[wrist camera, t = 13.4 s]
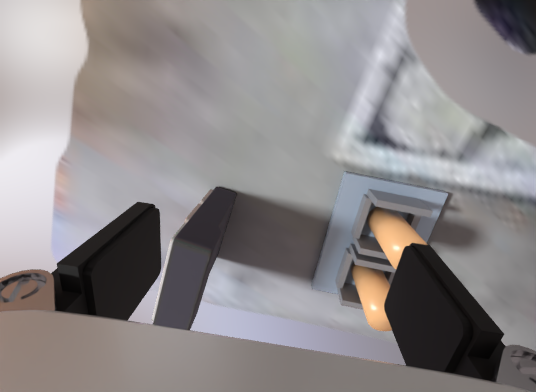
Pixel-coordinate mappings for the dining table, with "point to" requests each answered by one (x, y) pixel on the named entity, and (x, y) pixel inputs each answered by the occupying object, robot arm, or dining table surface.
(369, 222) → the tan capsule rod
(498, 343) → the robot arm
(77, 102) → the dining table surface
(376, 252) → the housing
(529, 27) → the dining table surface
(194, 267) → the dark grey slab
